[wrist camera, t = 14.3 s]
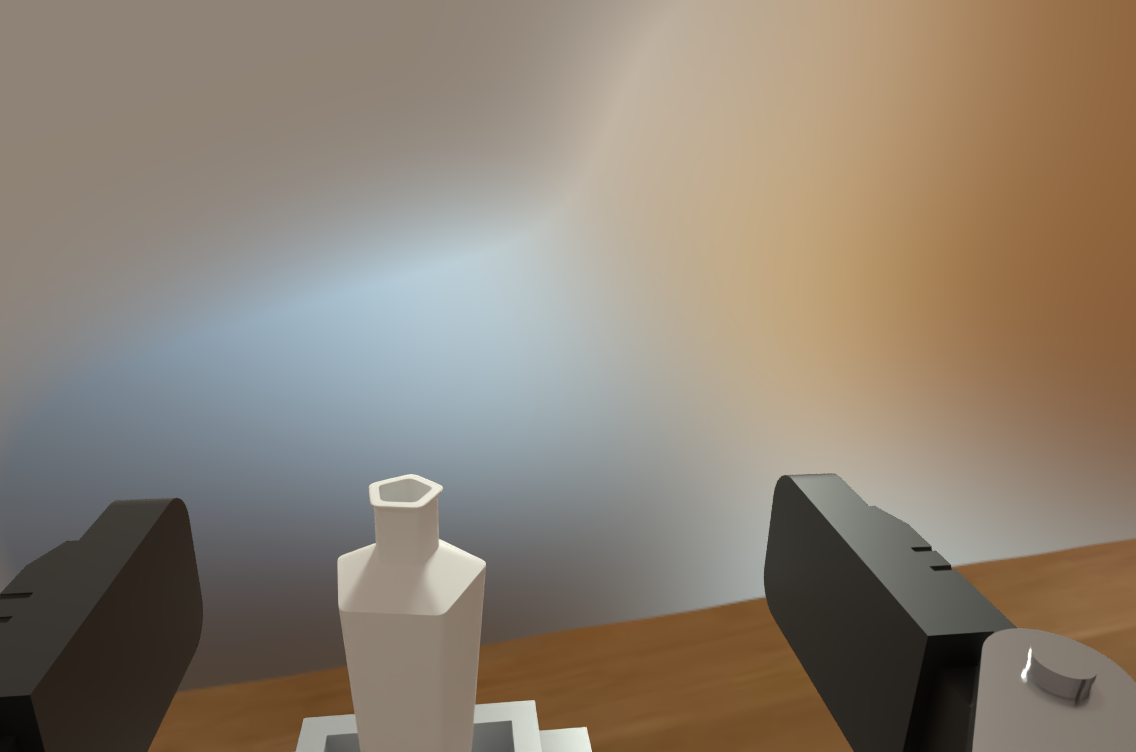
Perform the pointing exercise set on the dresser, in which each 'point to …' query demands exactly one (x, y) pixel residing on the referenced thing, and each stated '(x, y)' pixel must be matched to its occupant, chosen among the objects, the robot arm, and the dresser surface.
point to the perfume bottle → (411, 626)
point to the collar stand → (499, 743)
